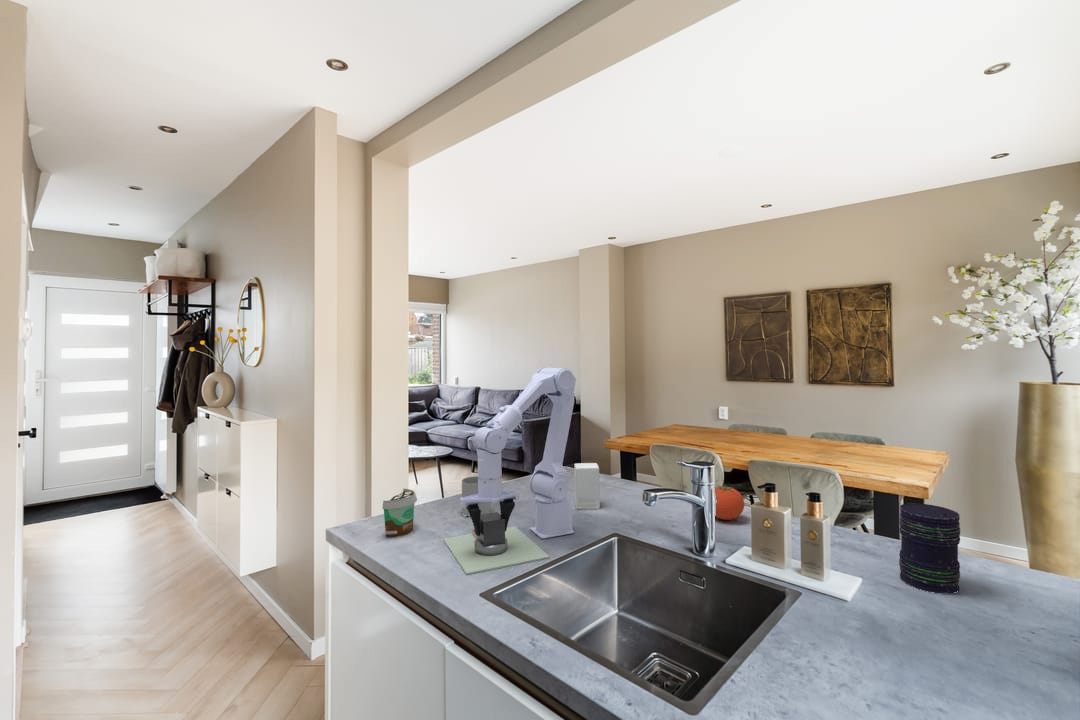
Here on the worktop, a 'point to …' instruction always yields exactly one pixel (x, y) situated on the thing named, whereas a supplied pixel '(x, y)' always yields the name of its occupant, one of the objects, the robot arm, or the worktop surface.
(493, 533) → the dark grey cube
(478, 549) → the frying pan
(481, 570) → the tool mat
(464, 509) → the cup
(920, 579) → the storage jar
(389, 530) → the food container
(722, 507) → the tomato
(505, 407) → the robot arm
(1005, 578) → the worktop surface
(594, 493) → the supplement box
